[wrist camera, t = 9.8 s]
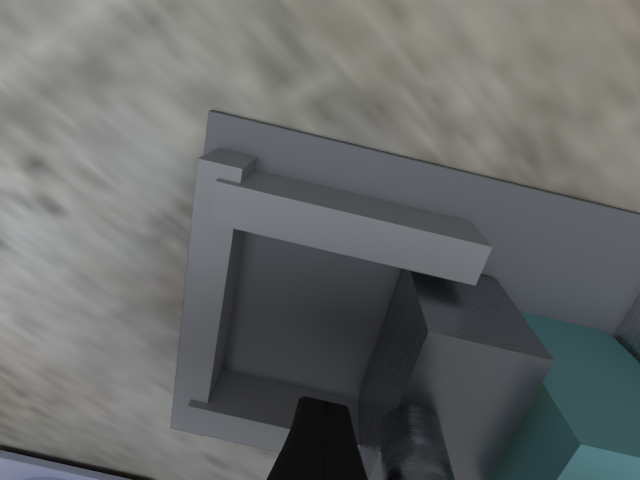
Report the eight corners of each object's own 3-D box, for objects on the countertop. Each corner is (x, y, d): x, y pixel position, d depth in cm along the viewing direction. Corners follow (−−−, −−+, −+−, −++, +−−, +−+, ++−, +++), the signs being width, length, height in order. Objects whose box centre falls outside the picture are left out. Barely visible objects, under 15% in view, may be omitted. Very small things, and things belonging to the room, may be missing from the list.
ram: (444, 416, 15) (540, 763, 7) (342, 392, 15) (333, 720, 7) (508, 281, 13) (741, 587, 5) (387, 253, 13) (443, 520, 5)
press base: (548, 488, 17) (591, 578, 14) (179, 404, 17) (140, 477, 14) (720, 233, 12) (844, 285, 9) (212, 110, 12) (164, 121, 9)
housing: (554, 416, 15) (683, 632, 9) (452, 393, 15) (517, 595, 9) (607, 331, 13) (802, 525, 8) (494, 305, 13) (602, 480, 8)
